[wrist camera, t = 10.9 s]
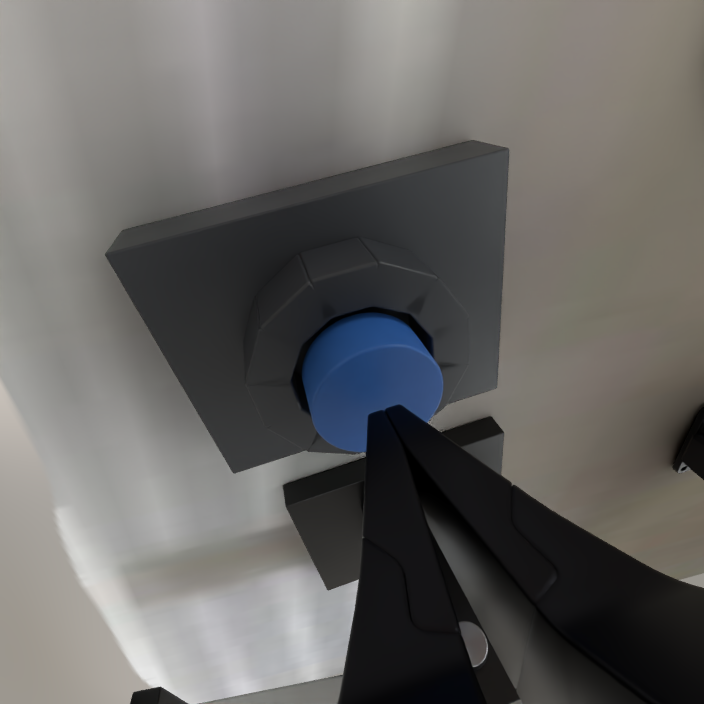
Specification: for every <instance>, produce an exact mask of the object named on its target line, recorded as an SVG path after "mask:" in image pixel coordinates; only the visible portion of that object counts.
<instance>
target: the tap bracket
mask: <svg viewBox="0 0 704 704" xmlns="http://www.w3.org/2000/svg"><path fill="white" fill-rule="evenodd" d="M442 434H443V435H445V436H446V437H447V438H449V439H450V440H452V441H453V442H455V443H456V444H457V445H459V446H460V447H462V448H463V449H464V450H466V451H467V452H469V453H470V454H471V455H473V456H474V457H476V458H477V459H479V460H480V461H481V462H483V463H484V464H486V465H487V466H488V467H490V468H491V469H493V470H494V471H496V472H497V473H498V474H500V475H501V468H502V454H503V441H504V432H503V431H502V429H501V428H500V427H499V426H498V424H497V423H496V422H495V420H494V419H493V418H492V417H488V418H485V419H482V420H479V421H476V422H473V423H470V424H467V425H464V426H461V427H458V428H455V429H452V430H449V431H446V432H443V433H442ZM365 464H366V458H365V459H362V460H359V461H356V462H353V463H350V464H347V465H344V466H341V467H338V468H335V469H332V470H329V471H326V472H322V473H319V474H316V475H313V476H310V477H307V478H304V479H301V480H298V481H295V482H292V483H289V484H286V485H284V486H283V490H284V497H285V505H286V508H287V510H288V512H289V514H290V516H291V518H292V520H293V522H294V524H295V526H296V528H297V530H298V532H299V534H300V536H301V538H302V540H303V542H304V544H305V546H306V548H307V550H308V552H309V554H310V556H311V558H312V560H313V562H314V564H315V566H316V568H317V570H318V572H319V574H320V576H321V578H322V580H323V582H324V584H325V586H326V588H327V590H331V589H333V588H336V587H339V586H342V585H344V584H347V583H350V582H353V581H356V580H358V579H359V573H360V561H361V543H362V539H363V537H362V527H363V506H364V485H365ZM429 529H430V528H429ZM430 533H431V536H432V539H433V542H434V546H435V549H436V552H437V555H438V558H439V562H440V565H441V568H442V571H443V574H444V578H445V581H446V584H447V587H448V591H449V594H450V597H451V600H452V603H453V607H454V610H455V613H456V616H457V620H458V623H459V626H460V629H461V635H462V637H463V639H464V642H465V645H466V648H467V651H468V654H469V657H470V660H471V663H472V666H473V669H474V672H475V675H476V677H477V680H478V683H479V685H480V688H481V690H482V693H483V695H484V698H485V700H486V703H487V704H523V703H522V701H521V699H520V697H519V696H518V694H517V691H516V690H517V689H515V688H514V686H513V684H512V682H511V680H510V678H509V676H508V675H507V673H506V671H505V669H504V667H503V665H502V663H501V661H500V660H499V658H498V656H497V654H496V652H495V650H494V648H493V646H492V645H491V643H490V641H489V639H488V637H487V635H486V633H485V631H484V629H483V628H482V626H481V624H480V622H479V620H478V618H477V616H476V614H475V613H474V611H473V609H472V607H471V605H470V603H469V601H468V599H467V597H466V596H465V594H464V592H463V590H462V588H461V586H460V584H459V582H458V581H457V579H456V577H455V575H454V573H453V571H452V569H451V567H450V565H449V564H448V562H447V560H446V558H445V556H444V554H443V552H442V550H441V549H440V547H439V545H438V543H437V541H436V539H435V537H434V535H433V533H432V532H431V530H430Z"/></svg>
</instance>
